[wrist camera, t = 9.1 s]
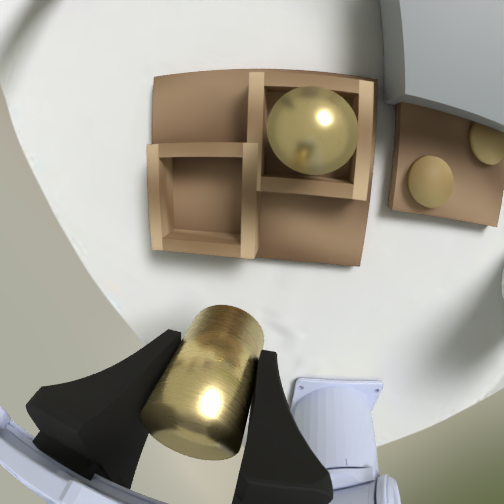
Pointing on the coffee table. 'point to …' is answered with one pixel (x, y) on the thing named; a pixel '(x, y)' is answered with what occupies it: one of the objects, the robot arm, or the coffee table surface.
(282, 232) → the peg board
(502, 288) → the base with upright slab
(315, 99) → the placed peg
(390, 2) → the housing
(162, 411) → the brass peg
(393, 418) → the coffee table surface
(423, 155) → the board
